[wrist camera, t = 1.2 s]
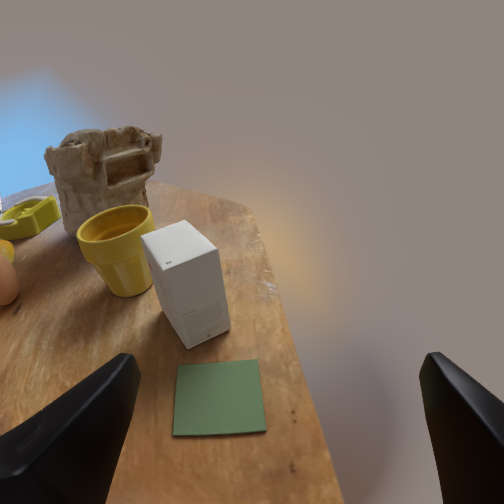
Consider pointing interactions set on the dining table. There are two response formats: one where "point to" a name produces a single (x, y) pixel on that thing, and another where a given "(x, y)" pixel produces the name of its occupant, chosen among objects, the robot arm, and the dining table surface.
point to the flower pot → (118, 247)
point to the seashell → (7, 250)
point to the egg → (7, 282)
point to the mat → (218, 399)
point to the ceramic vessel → (102, 171)
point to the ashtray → (28, 217)
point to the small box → (188, 281)
